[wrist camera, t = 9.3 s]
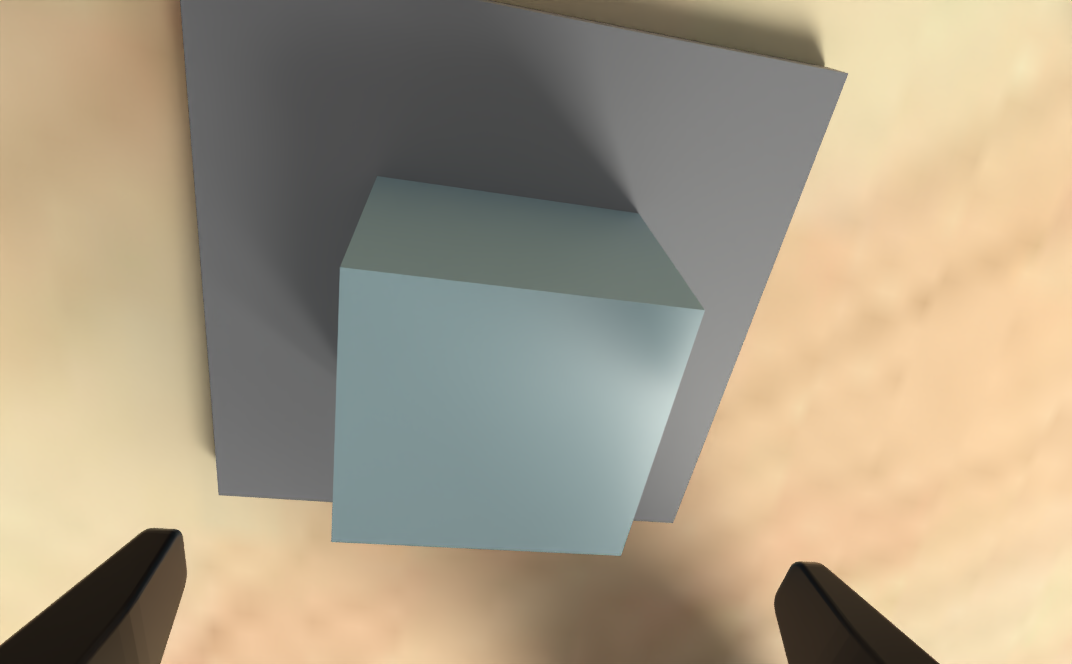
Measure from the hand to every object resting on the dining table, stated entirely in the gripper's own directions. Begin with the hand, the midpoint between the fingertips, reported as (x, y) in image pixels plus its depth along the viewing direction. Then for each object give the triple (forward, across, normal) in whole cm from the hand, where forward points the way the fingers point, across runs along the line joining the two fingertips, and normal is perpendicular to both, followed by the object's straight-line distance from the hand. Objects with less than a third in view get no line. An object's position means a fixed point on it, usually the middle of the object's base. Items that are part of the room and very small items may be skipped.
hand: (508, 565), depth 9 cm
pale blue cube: (+8, 0, 0) cm, 8 cm away
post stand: (+9, 0, 0) cm, 9 cm away
